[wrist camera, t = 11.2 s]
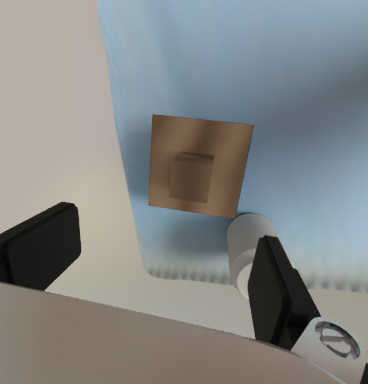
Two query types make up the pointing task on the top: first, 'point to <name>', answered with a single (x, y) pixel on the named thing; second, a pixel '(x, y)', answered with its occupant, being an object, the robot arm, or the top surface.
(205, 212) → the lid
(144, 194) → the top surface
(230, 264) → the can
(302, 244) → the top surface
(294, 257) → the top surface
